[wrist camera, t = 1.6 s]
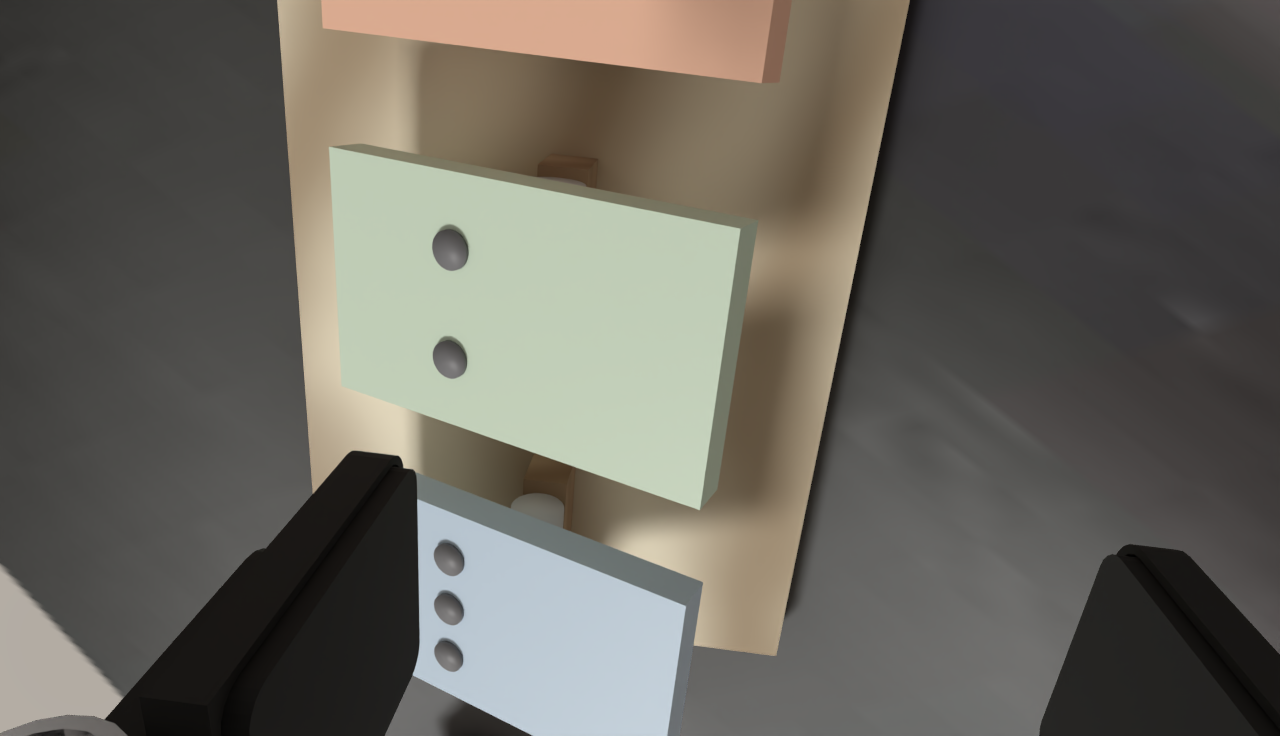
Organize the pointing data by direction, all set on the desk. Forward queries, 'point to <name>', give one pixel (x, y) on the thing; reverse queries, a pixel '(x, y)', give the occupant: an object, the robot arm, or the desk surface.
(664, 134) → the board
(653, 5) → the tile
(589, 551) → the tile
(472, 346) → the tile
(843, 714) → the desk surface
